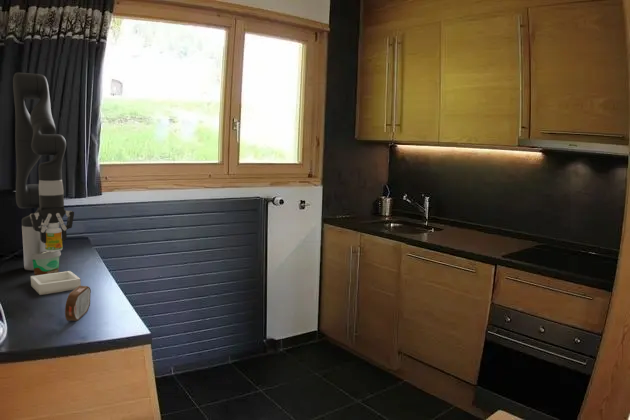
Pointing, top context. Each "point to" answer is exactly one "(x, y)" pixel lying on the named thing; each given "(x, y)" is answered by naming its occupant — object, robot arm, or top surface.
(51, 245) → the supplement bottle
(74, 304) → the tin
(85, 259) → the top surface
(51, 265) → the ice cream tub
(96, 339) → the top surface
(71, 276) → the tray
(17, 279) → the top surface
